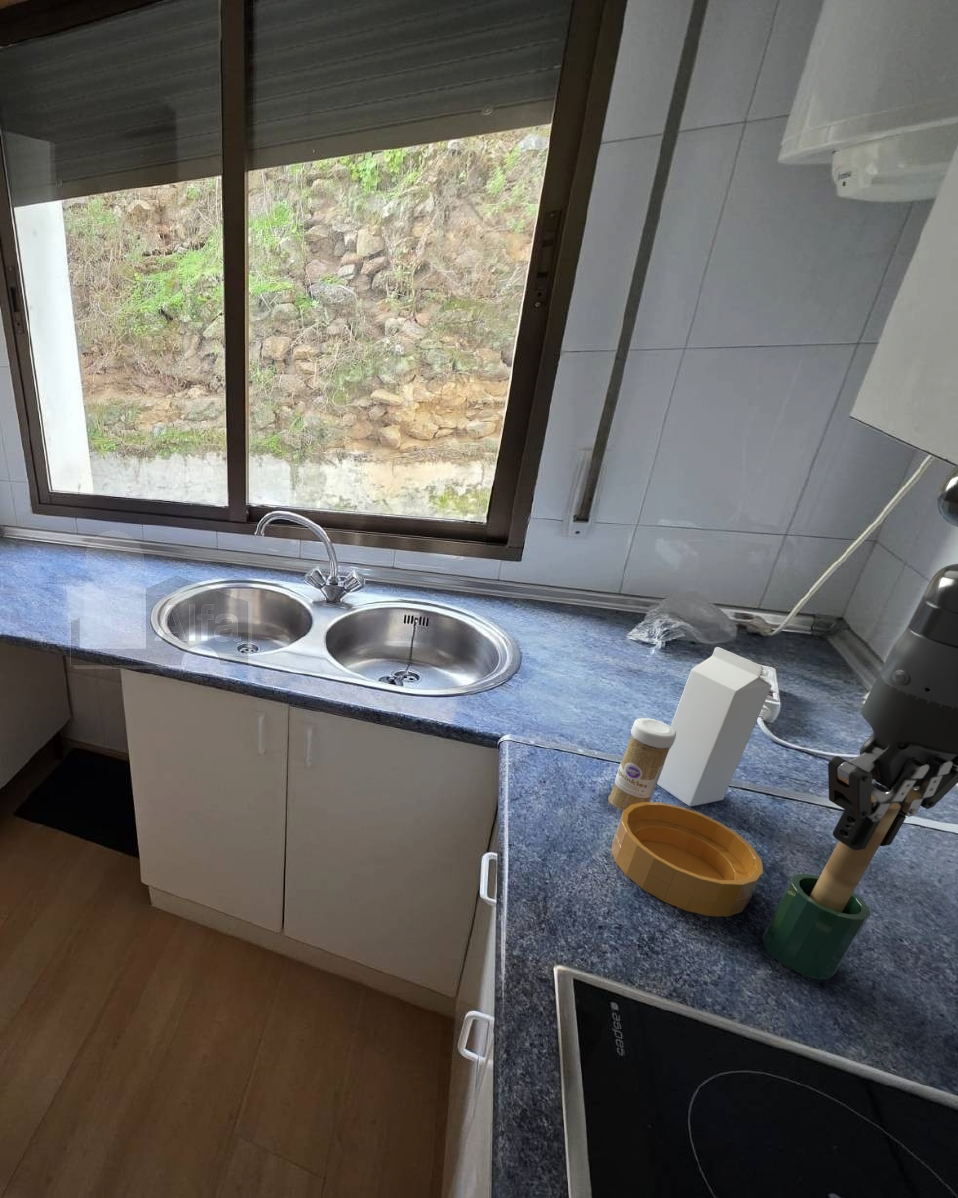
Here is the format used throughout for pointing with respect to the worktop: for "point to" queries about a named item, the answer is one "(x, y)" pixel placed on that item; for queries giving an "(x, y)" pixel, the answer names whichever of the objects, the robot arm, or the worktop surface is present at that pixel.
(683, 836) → the bowl
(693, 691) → the milk
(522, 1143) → the worktop surface
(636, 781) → the sprinkles bottle
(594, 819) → the worktop surface
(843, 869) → the stick
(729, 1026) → the worktop surface
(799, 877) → the utensil pot
